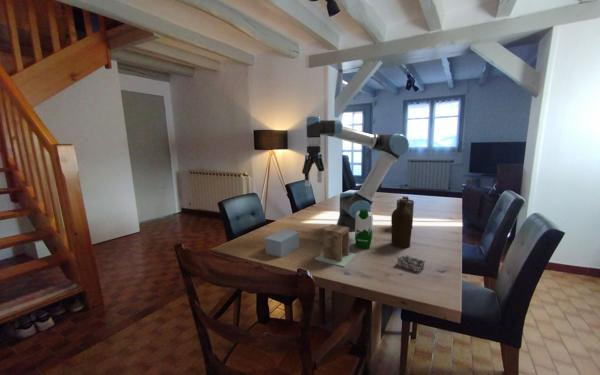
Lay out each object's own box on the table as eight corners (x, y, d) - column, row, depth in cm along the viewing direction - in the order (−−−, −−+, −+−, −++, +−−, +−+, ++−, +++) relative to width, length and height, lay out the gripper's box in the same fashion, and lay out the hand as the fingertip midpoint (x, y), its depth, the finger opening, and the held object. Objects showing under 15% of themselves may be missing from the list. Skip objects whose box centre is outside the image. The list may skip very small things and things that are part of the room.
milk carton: (353, 247, 141) (354, 210, 137) (356, 241, 149) (356, 206, 146) (371, 249, 138) (372, 212, 134) (372, 243, 146) (373, 207, 143)
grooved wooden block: (310, 240, 131) (332, 221, 123) (319, 235, 138) (340, 216, 130) (332, 268, 127) (355, 250, 119) (340, 261, 134) (362, 244, 126)
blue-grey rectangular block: (265, 253, 136) (264, 238, 135) (284, 242, 149) (283, 229, 148) (281, 257, 131) (280, 241, 129) (299, 246, 144) (299, 232, 142)
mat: (329, 248, 140) (329, 247, 140) (356, 255, 132) (356, 254, 132) (315, 259, 128) (315, 258, 128) (344, 267, 120) (344, 266, 119)
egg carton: (395, 265, 121) (395, 256, 121) (404, 260, 126) (404, 252, 125) (417, 274, 113) (418, 264, 112) (426, 268, 118) (427, 259, 117)
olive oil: (414, 248, 139) (417, 201, 134) (394, 248, 139) (396, 201, 134) (406, 240, 149) (409, 196, 145) (387, 241, 149) (389, 197, 145)
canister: (414, 230, 166) (416, 198, 162) (396, 229, 168) (398, 198, 165) (410, 225, 176) (412, 195, 173) (394, 224, 179) (395, 194, 175)
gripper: (318, 145, 159) (318, 180, 162) (295, 146, 138) (295, 187, 142) (330, 145, 154) (330, 181, 158) (307, 146, 134) (308, 188, 138)
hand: (313, 184), depth 150 cm, fingers open, 13 cm apart
